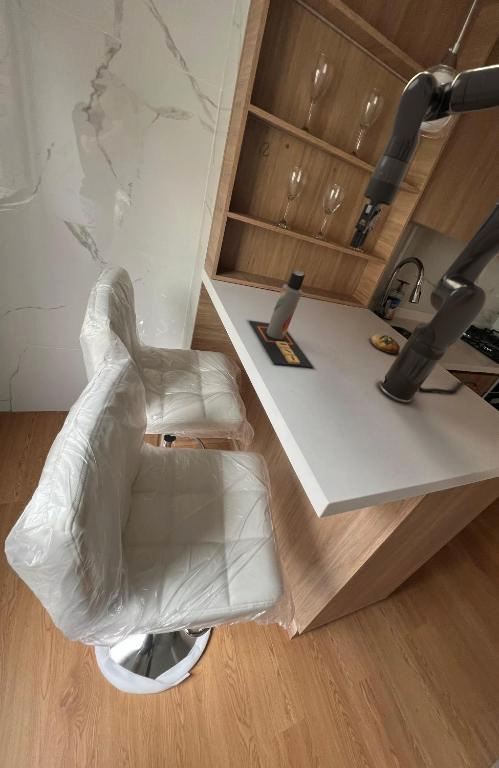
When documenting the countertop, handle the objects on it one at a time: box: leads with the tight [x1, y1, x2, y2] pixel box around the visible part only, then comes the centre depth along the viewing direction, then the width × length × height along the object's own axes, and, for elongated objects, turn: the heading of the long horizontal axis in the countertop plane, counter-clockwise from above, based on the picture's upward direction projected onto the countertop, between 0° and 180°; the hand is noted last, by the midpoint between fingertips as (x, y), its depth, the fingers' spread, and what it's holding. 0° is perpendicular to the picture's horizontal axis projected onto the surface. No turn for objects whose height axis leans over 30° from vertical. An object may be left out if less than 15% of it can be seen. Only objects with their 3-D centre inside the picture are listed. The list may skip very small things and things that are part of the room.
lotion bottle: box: [267, 269, 306, 340], centre depth 95 cm, size 6×6×20 cm
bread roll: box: [370, 333, 401, 354], centre depth 121 cm, size 11×11×5 cm
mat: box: [249, 320, 314, 369], centre depth 97 cm, size 24×12×1 cm, turn 17°
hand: (355, 246), depth 91 cm, fingers open, 8 cm apart
